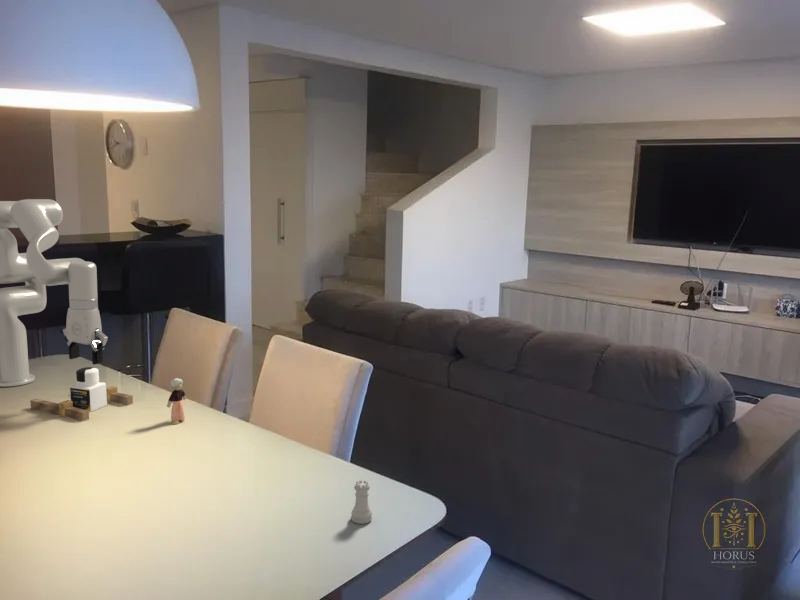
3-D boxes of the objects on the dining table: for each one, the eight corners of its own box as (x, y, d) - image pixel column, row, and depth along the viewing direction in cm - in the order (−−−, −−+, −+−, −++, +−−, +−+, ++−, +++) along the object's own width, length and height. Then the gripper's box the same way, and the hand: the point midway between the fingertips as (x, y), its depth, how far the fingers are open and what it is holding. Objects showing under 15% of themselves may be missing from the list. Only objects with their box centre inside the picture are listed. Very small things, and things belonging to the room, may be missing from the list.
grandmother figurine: (178, 426, 192) (177, 382, 190) (165, 425, 193) (163, 381, 191) (190, 417, 200) (189, 374, 198) (178, 416, 201) (177, 374, 198)
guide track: (29, 408, 204) (28, 395, 203) (83, 392, 221) (82, 380, 220) (81, 421, 194) (80, 407, 194) (134, 403, 211) (133, 390, 211)
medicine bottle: (70, 409, 204) (68, 370, 202) (88, 402, 211) (86, 364, 209) (90, 412, 202) (88, 373, 200) (107, 405, 209) (105, 366, 207)
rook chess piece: (360, 512, 145) (361, 476, 144) (376, 519, 142) (377, 482, 141) (346, 519, 142) (346, 483, 140) (362, 527, 139) (362, 489, 137)
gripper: (52, 302, 201) (54, 359, 204) (94, 309, 194) (96, 368, 197) (74, 298, 208) (76, 353, 211) (115, 305, 201) (117, 362, 204)
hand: (85, 360), depth 204 cm, fingers open, 9 cm apart
